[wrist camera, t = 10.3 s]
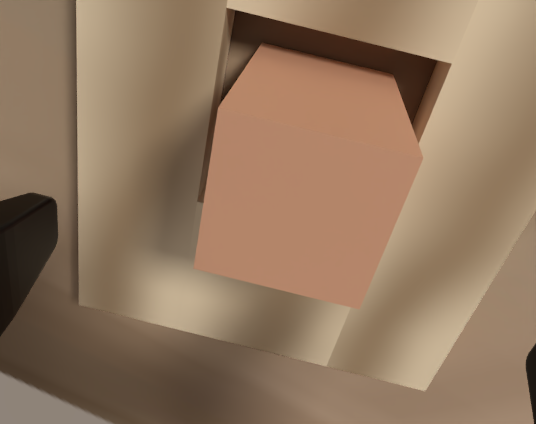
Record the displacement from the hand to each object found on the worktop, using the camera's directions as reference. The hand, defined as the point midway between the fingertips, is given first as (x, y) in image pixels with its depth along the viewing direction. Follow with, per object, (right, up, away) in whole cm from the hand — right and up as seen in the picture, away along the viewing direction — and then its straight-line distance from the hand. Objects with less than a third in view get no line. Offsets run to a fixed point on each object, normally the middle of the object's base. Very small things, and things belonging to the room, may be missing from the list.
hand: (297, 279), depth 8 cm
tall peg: (+1, +4, +7) cm, 8 cm away
